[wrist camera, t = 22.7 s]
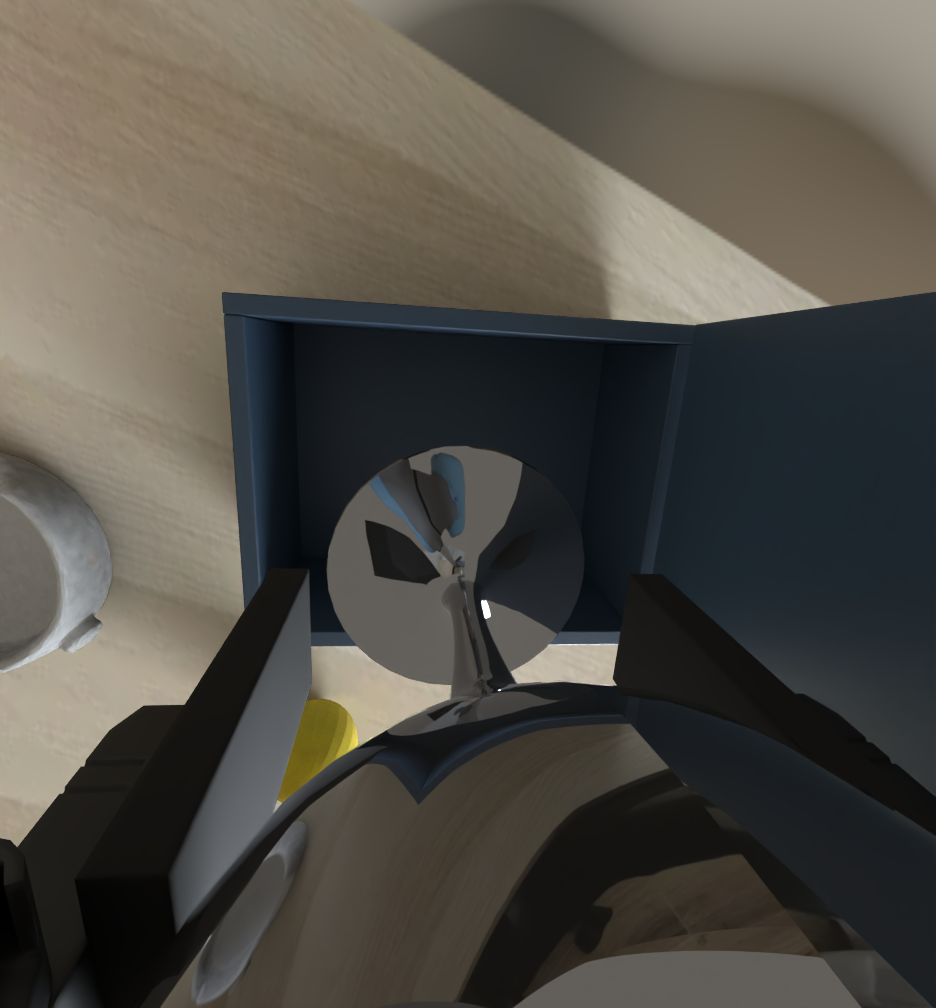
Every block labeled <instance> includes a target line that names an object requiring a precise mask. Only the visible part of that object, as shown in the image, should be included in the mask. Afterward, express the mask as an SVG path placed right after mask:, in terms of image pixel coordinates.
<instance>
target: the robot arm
mask: <svg viewBox="0 0 936 1008" xmlns="http://www.w3.org/2000/svg"><path fill="white" fill-rule="evenodd" d="M613 680H614V681H615V683H616V685H617V686H622V687H629V688H637V689H645V690H650V691H654V692H658V693H662V694H666V695H670V696H674V697H677V698H681V699H685V700H689V701H693V702H697V703H701V704H704V705H706V706H708V707H711V708H713V709H715V710H717V711H719V712H721V713H723V714H725V715H727V716H730V717H732V718H734V719H736V720H738V721H740V722H742V723H744V724H746V725H749V726H751V727H753V728H755V729H757V730H759V731H761V732H763V733H765V734H767V735H768V736H770V737H772V738H774V739H776V740H778V741H780V742H782V743H784V744H786V745H788V746H790V747H792V748H794V749H796V750H798V751H800V752H802V753H804V754H806V755H808V756H810V757H812V758H814V759H816V760H818V761H820V762H822V763H824V764H826V765H827V766H829V767H830V768H832V769H833V770H835V771H836V772H838V773H839V774H841V775H843V776H844V777H846V778H847V779H849V780H850V781H852V782H853V783H855V784H856V785H858V786H859V787H861V788H862V789H864V790H866V791H867V792H869V793H870V794H872V795H873V796H875V797H876V798H878V799H879V800H881V801H882V802H884V803H886V804H887V805H889V806H890V807H892V808H893V809H895V810H896V811H898V812H899V813H901V814H902V815H904V816H905V817H907V818H909V819H910V820H912V821H913V822H915V823H916V824H918V825H919V826H921V827H922V828H924V829H925V830H927V831H928V832H930V833H932V834H933V835H935V836H936V797H935V796H934V795H933V794H932V793H930V792H929V791H928V790H927V789H926V788H925V787H923V786H922V785H921V784H920V783H919V782H917V781H916V780H915V779H914V778H913V777H912V776H910V775H909V774H908V773H907V772H906V771H905V770H903V769H902V768H901V767H900V766H899V765H898V764H892V763H891V761H890V758H889V757H888V756H887V755H886V754H885V753H884V752H882V751H881V750H880V749H879V748H878V747H877V746H875V745H874V744H873V743H872V742H867V741H866V737H865V736H864V735H863V734H861V733H860V732H859V731H858V730H857V729H856V728H854V727H853V726H852V725H851V724H850V723H849V722H847V721H846V720H845V719H844V718H843V717H842V716H840V715H839V714H838V713H836V712H835V711H833V710H831V709H829V708H828V707H826V706H824V705H823V704H821V703H819V702H817V701H816V700H814V699H812V698H810V697H809V696H807V695H805V694H804V693H800V694H795V693H794V692H793V691H792V690H790V689H789V688H788V687H787V686H786V685H785V684H784V683H783V682H782V681H780V680H779V679H778V678H777V677H776V676H775V675H774V674H773V673H772V672H770V671H769V670H768V669H767V668H766V667H765V666H764V665H763V664H762V663H760V662H759V661H758V660H757V659H756V658H755V657H754V656H753V655H752V654H750V653H749V652H748V651H747V650H746V649H745V648H744V647H743V646H742V645H740V644H739V643H738V642H737V641H736V640H735V639H734V638H733V637H732V636H730V635H729V634H728V633H727V632H726V631H725V630H724V629H723V628H722V627H720V626H719V625H718V624H717V623H716V622H715V621H714V620H713V619H712V618H710V617H709V616H708V615H707V614H706V613H705V612H704V611H703V610H702V609H700V608H699V607H698V606H697V605H696V604H695V603H694V602H693V601H692V600H690V599H689V598H688V597H687V596H686V595H685V594H684V593H683V592H682V591H680V590H679V589H678V588H677V587H676V586H675V585H674V584H673V583H672V582H670V581H669V580H668V579H667V578H666V577H665V576H664V575H663V574H630V577H629V583H628V589H627V595H626V601H625V607H624V613H623V620H622V626H621V632H620V638H619V644H618V650H617V656H616V662H615V669H614V675H613ZM311 683H312V666H311V627H310V589H309V569H282V568H271V569H270V571H269V573H268V574H267V576H266V577H265V579H264V580H263V582H262V584H261V585H260V587H259V588H258V590H257V591H256V593H255V595H254V596H253V598H252V599H251V601H250V603H249V604H248V606H247V607H246V609H245V610H244V612H243V614H242V615H241V617H240V618H239V620H238V621H237V623H236V625H235V626H234V628H233V629H232V631H231V633H230V634H229V636H228V637H227V639H226V640H225V642H224V644H223V645H222V647H221V648H220V650H219V652H218V653H217V655H216V656H215V658H214V659H213V661H212V663H211V664H210V666H209V667H208V669H207V670H206V672H205V674H204V675H203V677H202V678H201V680H200V682H199V683H198V685H197V686H196V688H195V689H194V691H193V693H192V694H191V696H190V697H189V699H188V700H187V702H186V704H185V705H151V706H143V707H141V708H140V709H138V710H137V711H136V712H134V713H133V714H131V715H130V716H129V717H127V718H126V719H125V720H123V721H122V722H120V723H119V724H118V725H116V726H115V727H113V728H112V729H111V730H109V732H108V733H107V734H106V735H105V737H104V738H103V739H102V741H101V742H100V743H99V744H98V746H97V747H96V748H95V749H94V751H93V752H92V753H91V755H90V756H89V757H88V758H87V760H86V763H85V766H84V767H80V768H79V770H78V771H77V772H76V774H75V775H74V776H73V777H72V779H71V780H70V781H69V782H68V784H67V785H66V786H65V791H64V793H63V794H59V795H58V796H57V798H56V799H55V800H54V801H53V803H52V804H51V805H50V807H49V808H48V809H47V810H46V812H45V813H44V814H43V815H42V817H41V818H40V819H39V821H38V822H37V823H36V824H35V826H34V827H33V828H32V829H31V831H30V832H29V833H28V834H27V836H26V837H25V838H24V840H23V841H22V842H21V843H20V845H19V846H18V847H16V846H15V845H14V844H13V843H12V842H11V840H7V839H1V838H0V1008H130V1006H131V1005H132V1003H133V1001H134V1000H135V998H136V997H137V995H138V994H139V992H140V991H141V989H142V988H143V986H144V984H145V983H146V981H147V980H148V978H149V977H150V975H151V974H152V972H153V971H154V969H155V968H156V966H157V964H158V963H159V961H160V960H161V958H162V957H163V955H164V954H165V952H166V951H167V949H168V947H169V946H170V944H171V943H172V941H173V940H174V938H175V937H176V935H177V934H178V932H179V931H180V929H181V927H182V926H183V924H184V923H185V921H186V920H187V918H188V917H189V915H190V914H191V913H192V911H193V910H194V909H195V908H196V906H197V905H198V904H199V903H200V901H201V900H202V899H203V898H204V896H205V895H206V894H207V893H208V891H209V890H210V889H211V888H212V887H213V885H214V884H215V883H216V882H217V880H218V879H219V878H220V877H221V875H222V874H223V873H224V872H225V870H226V869H227V868H228V867H229V865H230V864H231V863H232V862H233V860H234V859H235V858H236V857H237V856H238V854H239V853H240V852H241V851H242V849H243V848H244V847H245V846H246V844H247V843H248V842H249V841H250V840H251V839H252V837H253V836H254V835H255V834H256V833H257V832H258V831H259V829H260V828H261V827H262V826H263V825H264V824H265V823H266V821H267V820H268V819H269V818H270V817H271V816H272V814H273V812H274V808H275V805H276V802H277V798H278V795H279V792H280V788H281V785H282V781H283V778H284V775H285V771H286V768H287V765H288V761H289V758H290V754H291V751H292V748H293V744H294V741H295V737H296V734H297V731H298V727H299V724H300V721H301V717H302V714H303V710H304V707H305V704H306V700H307V697H308V694H309V690H310V687H311Z"/></svg>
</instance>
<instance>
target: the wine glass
mask: <svg viewBox="0 0 936 1008" xmlns="http://www.w3.org/2000/svg"><path fill="white" fill-rule="evenodd" d="M584 560H585V556H584V548H583V539H582V535H581V532H580V529H579V525H578V522H577V519H576V517H575V515H574V513H573V511H572V509H571V507H570V506H569V504H568V502H567V500H566V498H565V497H564V496H563V495H562V494H561V492H560V491H559V490H558V489H557V488H556V486H555V485H554V484H553V483H552V482H551V481H550V480H549V479H548V478H546V477H545V476H544V475H543V474H542V473H540V472H539V471H538V470H537V469H536V468H534V467H532V466H530V465H529V464H527V463H525V462H523V461H521V460H520V459H518V458H516V457H514V456H511V455H508V454H505V453H502V452H499V451H496V450H493V449H486V448H479V447H473V446H449V447H441V448H436V449H431V450H426V451H421V452H419V453H416V454H413V455H411V456H408V457H406V458H403V459H400V460H398V461H397V462H395V463H393V464H392V465H390V466H388V467H387V468H385V469H383V470H382V471H380V472H378V473H377V474H376V475H375V476H374V477H373V478H371V479H370V480H369V481H368V482H367V483H366V484H365V485H363V486H362V487H361V488H360V489H359V491H358V492H357V493H356V494H355V496H354V497H353V498H352V499H351V501H350V502H349V503H348V504H347V506H346V507H345V509H344V511H343V513H342V515H341V517H340V518H339V520H338V522H337V524H336V526H335V529H334V532H333V536H332V539H331V542H330V545H329V550H328V560H327V580H328V591H329V594H330V597H331V601H332V604H333V608H334V611H335V613H336V615H337V617H338V619H339V621H340V623H341V624H342V626H343V628H344V630H345V631H346V632H347V634H348V635H349V636H350V638H351V639H352V640H353V641H354V643H355V644H356V645H357V646H358V647H359V648H360V649H361V650H362V651H363V652H364V653H365V654H367V655H368V656H369V657H370V658H371V659H372V660H374V661H375V662H377V663H378V664H380V665H382V666H383V667H385V668H386V669H388V670H390V671H392V672H394V673H397V674H399V675H402V676H404V677H406V678H409V679H413V680H417V681H421V682H425V683H430V684H443V685H451V693H450V698H449V700H447V701H444V702H442V703H439V704H437V705H434V706H431V707H429V708H426V709H424V710H421V711H418V712H416V713H413V714H411V715H409V716H408V717H406V718H404V719H402V720H400V721H399V722H397V723H395V724H393V725H392V726H390V727H388V728H386V729H385V730H383V731H381V732H379V733H378V734H376V735H374V736H372V737H371V738H369V739H367V740H366V741H364V742H363V743H361V744H359V745H358V746H356V747H355V748H353V749H352V750H350V751H348V752H347V753H345V754H344V755H342V756H341V757H339V758H338V759H336V760H334V761H333V762H332V763H331V764H329V765H328V766H327V767H326V768H324V769H323V770H322V771H321V772H319V773H318V774H317V775H316V776H314V777H313V778H312V779H311V780H309V781H308V782H307V783H306V784H304V785H303V786H302V787H301V788H300V789H298V790H297V791H296V792H295V793H293V794H292V795H291V796H290V797H288V798H287V799H286V800H285V801H284V802H283V803H282V804H281V805H280V806H279V808H278V809H277V810H276V811H275V812H274V813H273V814H272V816H271V817H270V818H269V819H268V820H267V821H266V823H265V824H264V825H263V826H262V827H261V828H260V829H259V831H258V832H257V833H256V834H255V835H254V836H253V837H252V839H251V840H250V841H249V842H248V843H247V844H246V846H245V847H244V848H243V849H242V851H241V852H240V853H239V854H238V856H237V857H236V858H235V859H234V860H233V862H232V863H231V864H230V865H229V867H228V868H227V869H226V870H225V872H224V873H223V874H222V875H221V877H220V878H219V879H218V880H217V882H216V883H215V884H214V885H213V887H212V888H211V889H210V890H209V891H208V893H207V894H206V895H205V896H204V898H203V899H202V900H201V901H200V903H199V904H198V905H197V906H196V908H195V909H194V910H193V911H192V913H191V914H190V915H189V917H188V918H187V920H186V921H185V923H184V924H183V926H182V927H181V929H180V931H179V932H178V934H177V935H176V937H175V938H174V940H173V941H172V943H171V944H170V946H169V947H168V949H167V951H166V952H165V954H164V955H163V957H162V958H161V960H160V961H159V963H158V964H157V966H156V968H155V969H154V971H153V972H152V974H151V975H150V977H149V978H148V980H147V981H146V983H145V984H144V986H143V988H142V989H141V991H140V992H139V994H138V995H137V997H136V998H135V1000H134V1001H133V1003H132V1005H131V1006H130V1008H936V836H935V835H933V834H932V833H930V832H928V831H927V830H925V829H924V828H922V827H921V826H919V825H918V824H916V823H915V822H913V821H912V820H910V819H909V818H907V817H905V816H904V815H902V814H901V813H899V812H898V811H896V810H895V809H893V808H892V807H890V806H889V805H887V804H886V803H884V802H882V801H881V800H879V799H878V798H876V797H875V796H873V795H872V794H870V793H869V792H867V791H866V790H864V789H862V788H861V787H859V786H858V785H856V784H855V783H853V782H852V781H850V780H849V779H847V778H846V777H844V776H843V775H841V774H839V773H838V772H836V771H835V770H833V769H832V768H830V767H829V766H827V765H826V764H824V763H822V762H820V761H818V760H816V759H814V758H812V757H810V756H808V755H806V754H804V753H802V752H800V751H798V750H796V749H794V748H792V747H790V746H788V745H786V744H784V743H782V742H780V741H778V740H776V739H774V738H772V737H770V736H768V735H767V734H765V733H763V732H761V731H759V730H757V729H755V728H753V727H751V726H749V725H746V724H744V723H742V722H740V721H738V720H736V719H734V718H732V717H730V716H727V715H725V714H723V713H721V712H719V711H717V710H715V709H713V708H711V707H708V706H706V705H704V704H701V703H697V702H693V701H689V700H685V699H681V698H677V697H674V696H670V695H666V694H662V693H658V692H654V691H650V690H645V689H637V688H629V687H622V686H614V685H605V684H594V683H582V682H570V681H549V682H535V683H521V684H518V682H517V681H516V680H515V678H514V677H513V675H512V673H511V671H513V670H514V669H516V668H518V667H520V666H521V665H523V664H525V663H527V662H528V661H530V660H531V659H532V658H534V657H535V656H536V655H537V654H539V653H540V652H541V651H542V650H544V649H545V648H546V647H547V646H548V645H549V644H550V642H551V641H552V640H553V639H554V638H555V637H556V636H557V635H558V634H559V632H560V631H561V629H562V628H563V626H564V625H565V623H566V622H567V620H568V619H569V617H570V615H571V613H572V611H573V609H574V606H575V604H576V602H577V600H578V597H579V593H580V589H581V585H582V581H583V575H584Z"/></svg>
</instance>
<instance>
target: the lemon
mask: <svg viewBox="0 0 936 1008" xmlns="http://www.w3.org/2000/svg"><path fill="white" fill-rule="evenodd" d="M356 746H358V740H357V731H356V726H355V724H354V722H353V719H352V717H351V716H350V714H349V713H348V712H347V711H346V710H345V708H343V707H342V706H341V705H339V704H338V703H335V702H333V701H331V700H326V699H313V700H309V701H306V704H305V707H304V710H303V714H302V717H301V721H300V724H299V727H298V731H297V734H296V737H295V741H294V744H293V748H292V751H291V754H290V758H289V761H288V765H287V768H286V771H285V775H284V778H283V781H282V785H281V788H280V792H279V795H278V798H277V799H278V800H279V801H280V802H281V803H283V802H284V801H285V800H286V799H287V798H288V797H290V796H291V795H292V794H293V793H295V792H296V791H297V790H298V789H300V788H301V787H302V786H303V785H304V784H306V783H307V782H308V781H309V780H311V779H312V778H313V777H314V776H316V775H317V774H318V773H319V772H321V771H322V770H323V769H324V768H326V767H327V766H328V765H329V764H331V763H332V762H333V761H334V760H336V759H338V758H339V757H341V756H342V755H344V754H345V753H347V752H348V751H350V750H352V749H353V748H355V747H356Z"/></svg>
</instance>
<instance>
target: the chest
mask: <svg viewBox="0 0 936 1008" xmlns="http://www.w3.org/2000/svg"><path fill="white" fill-rule="evenodd" d="M222 302H223V313H224V314H225V315H224V326H225V340H226V354H227V369H228V383H229V397H230V411H231V425H232V439H233V453H234V467H235V482H236V496H237V510H238V524H239V538H240V552H241V566H242V581H243V595H244V609H246V607H247V606H248V604H249V603H250V601H251V599H252V598H253V596H254V595H255V593H256V591H257V590H258V588H259V587H260V585H261V584H262V582H263V580H264V579H265V577H266V576H267V574H268V573H269V571H270V569H271V568H282V569H309V589H310V627H311V646H357V645H356V644H355V643H354V641H353V640H352V639H351V638H350V636H349V635H348V634H347V632H346V631H345V630H344V628H343V626H342V624H341V623H340V621H339V619H338V617H337V615H336V613H335V611H334V608H333V604H332V601H331V597H330V594H329V591H328V580H327V560H328V550H329V545H330V542H331V539H332V536H333V532H334V529H335V526H336V524H337V522H338V520H339V518H340V517H341V515H342V513H343V511H344V509H345V507H346V506H347V504H348V503H349V502H350V501H351V499H352V498H353V497H354V496H355V494H356V493H357V492H358V491H359V489H360V488H361V487H362V486H363V485H365V484H366V483H367V482H368V481H369V480H370V479H371V478H373V477H374V476H375V475H376V474H377V473H378V472H380V471H382V470H383V469H385V468H387V467H388V466H390V465H392V464H393V463H395V462H397V461H398V460H400V459H403V458H406V457H408V456H411V455H413V454H416V453H419V452H421V451H426V450H431V449H436V448H441V447H449V446H473V447H479V448H486V449H493V450H496V451H499V452H502V453H505V454H508V455H511V456H514V457H516V458H518V459H520V460H521V461H523V462H525V463H527V464H529V465H530V466H532V467H534V468H536V469H537V470H538V471H539V472H540V473H542V474H543V475H544V476H545V477H546V478H548V479H549V480H550V481H551V482H552V483H553V484H554V485H555V486H556V488H557V489H558V490H559V491H560V492H561V494H562V495H563V496H564V497H565V498H566V500H567V502H568V504H569V506H570V507H571V509H572V511H573V513H574V515H575V517H576V519H577V522H578V525H579V529H580V532H581V535H582V539H583V548H584V556H585V560H584V575H583V581H582V585H581V589H580V593H579V597H578V600H577V602H576V604H575V606H574V609H573V611H572V613H571V615H570V617H569V619H568V620H567V622H566V623H565V625H564V626H563V628H562V629H561V631H560V632H559V634H558V635H557V636H556V637H555V638H554V639H553V640H552V641H551V642H550V644H549V645H605V644H619V638H620V632H621V626H622V620H623V613H624V607H625V601H626V595H627V589H628V583H629V577H630V574H652V573H653V567H654V561H655V555H656V550H657V544H658V538H659V532H660V527H661V521H662V515H663V509H664V504H665V498H666V492H667V486H668V481H669V475H670V469H671V463H672V458H673V452H674V446H675V440H676V435H677V429H678V423H679V417H680V412H681V406H682V400H683V394H684V389H685V383H686V377H687V371H688V366H689V360H690V354H691V348H692V343H693V337H694V331H695V326H696V325H682V324H667V323H653V322H639V321H625V320H611V319H597V318H583V317H568V316H554V315H540V314H526V313H512V312H498V311H484V310H469V309H455V308H441V307H427V306H413V305H399V304H385V303H370V302H356V301H342V300H328V299H314V298H300V297H286V296H271V295H257V294H243V293H229V292H222Z"/></svg>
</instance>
